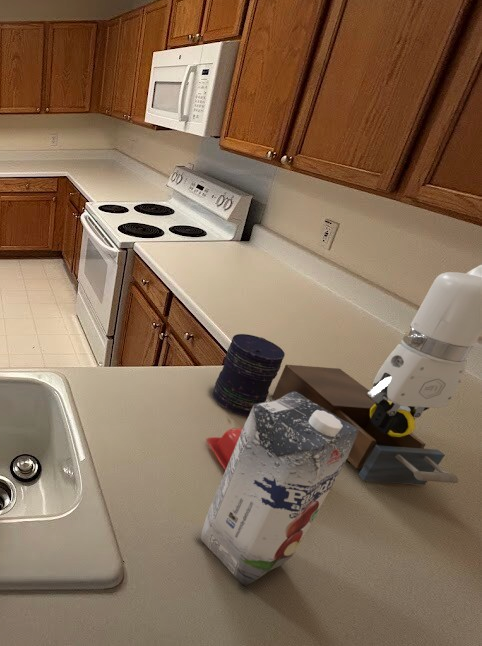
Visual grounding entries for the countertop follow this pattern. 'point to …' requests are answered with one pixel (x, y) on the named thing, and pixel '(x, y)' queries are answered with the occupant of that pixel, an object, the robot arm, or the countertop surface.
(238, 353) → the storage jar
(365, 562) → the countertop surface
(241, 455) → the juice carton
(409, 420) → the watch
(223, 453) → the butter dish
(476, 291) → the robot arm
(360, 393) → the cabinet
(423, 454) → the drawer
